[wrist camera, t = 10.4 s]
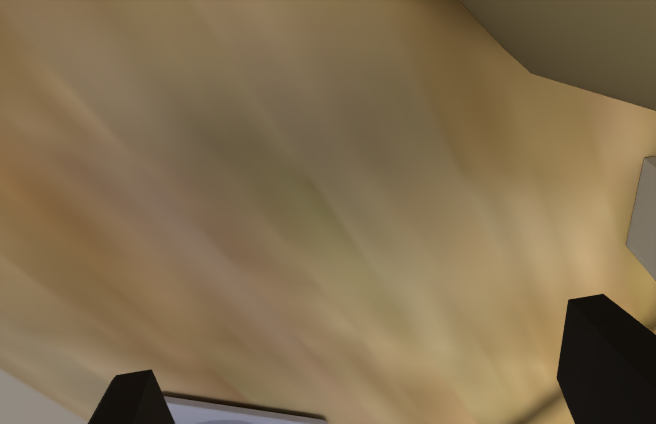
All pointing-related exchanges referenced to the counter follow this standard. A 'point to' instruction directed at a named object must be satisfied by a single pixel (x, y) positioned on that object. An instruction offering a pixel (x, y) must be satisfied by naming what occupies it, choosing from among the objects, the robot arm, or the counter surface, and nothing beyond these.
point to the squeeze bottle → (580, 42)
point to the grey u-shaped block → (645, 219)
